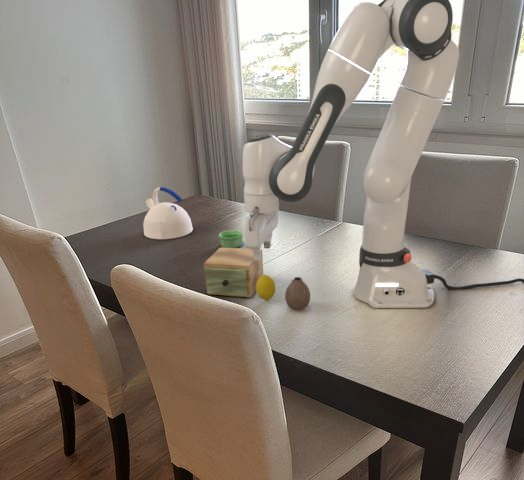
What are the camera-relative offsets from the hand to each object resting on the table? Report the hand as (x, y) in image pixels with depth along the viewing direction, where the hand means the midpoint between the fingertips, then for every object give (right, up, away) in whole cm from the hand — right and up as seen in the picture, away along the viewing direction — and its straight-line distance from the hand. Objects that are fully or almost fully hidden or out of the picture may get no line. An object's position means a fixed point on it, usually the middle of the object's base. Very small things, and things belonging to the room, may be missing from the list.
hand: (262, 253), depth 134 cm
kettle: (-39, +22, +68) cm, 82 cm away
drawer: (-9, -7, +15) cm, 19 cm away
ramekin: (-12, +13, +50) cm, 53 cm away
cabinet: (-8, -7, +17) cm, 20 cm away
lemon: (+1, -12, +7) cm, 15 cm away
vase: (+10, -15, +2) cm, 18 cm away
